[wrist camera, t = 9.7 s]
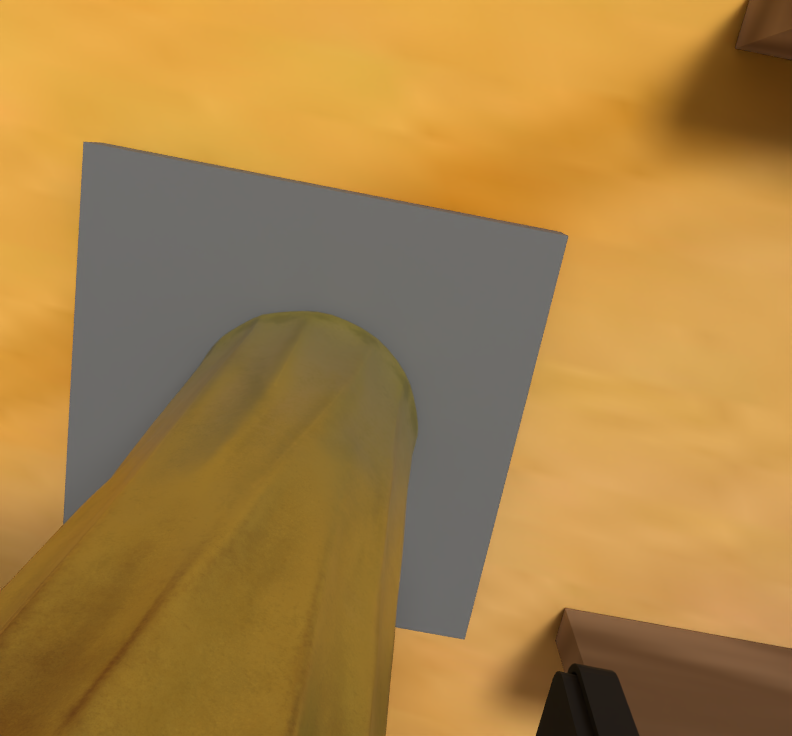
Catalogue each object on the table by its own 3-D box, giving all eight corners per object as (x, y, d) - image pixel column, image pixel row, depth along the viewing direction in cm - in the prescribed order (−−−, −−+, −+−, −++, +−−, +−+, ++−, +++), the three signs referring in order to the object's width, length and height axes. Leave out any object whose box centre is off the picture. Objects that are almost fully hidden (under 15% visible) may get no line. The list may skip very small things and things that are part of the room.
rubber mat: (462, 618, 22) (464, 639, 21) (77, 549, 21) (61, 567, 20) (560, 232, 18) (568, 236, 17) (101, 142, 18) (83, 141, 17)
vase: (352, 267, 17) (124, 656, 4) (455, 468, 19) (556, 1263, 5) (148, 369, 18) (-625, 973, 5) (262, 553, 20) (-76, 1413, 6)
